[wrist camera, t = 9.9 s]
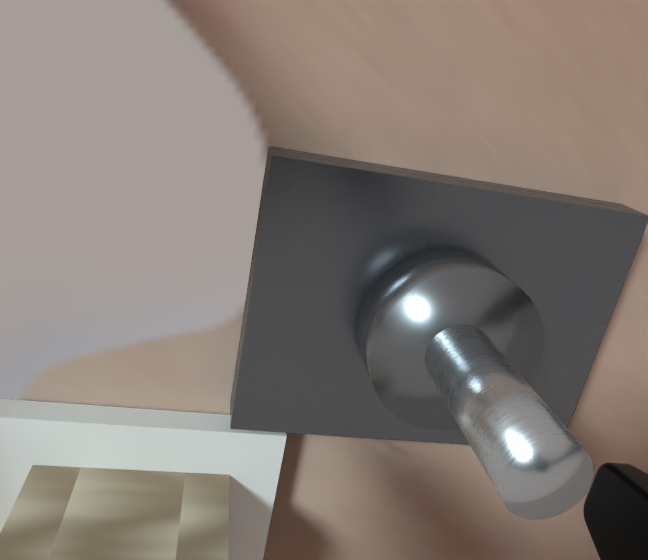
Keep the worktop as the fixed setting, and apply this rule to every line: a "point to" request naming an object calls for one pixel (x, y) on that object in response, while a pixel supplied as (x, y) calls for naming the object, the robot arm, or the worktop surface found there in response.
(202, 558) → the collar
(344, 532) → the worktop surface
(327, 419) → the post stand
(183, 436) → the tile pad
